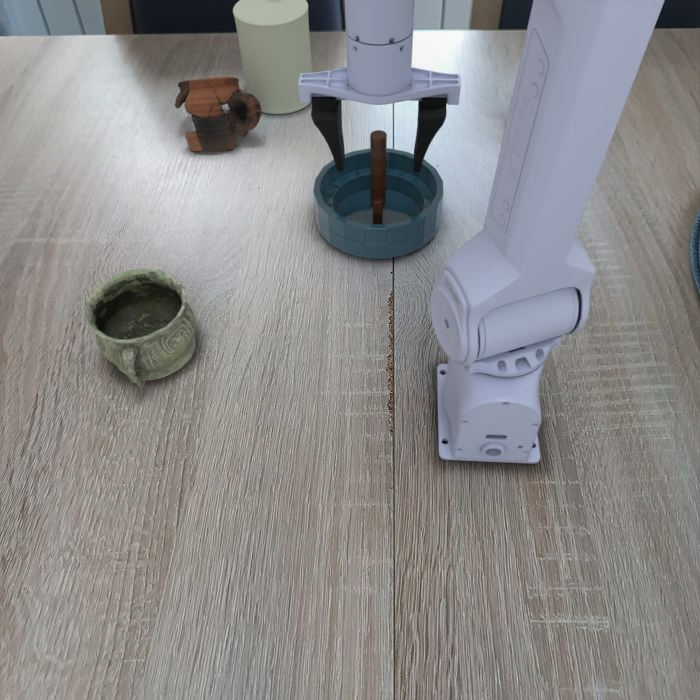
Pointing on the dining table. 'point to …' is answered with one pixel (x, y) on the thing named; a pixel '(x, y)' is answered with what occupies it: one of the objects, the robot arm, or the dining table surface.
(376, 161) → the stirring stick
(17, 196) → the dining table surface
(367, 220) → the bowl
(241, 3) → the can
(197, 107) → the pottery mug
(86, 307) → the vessel
